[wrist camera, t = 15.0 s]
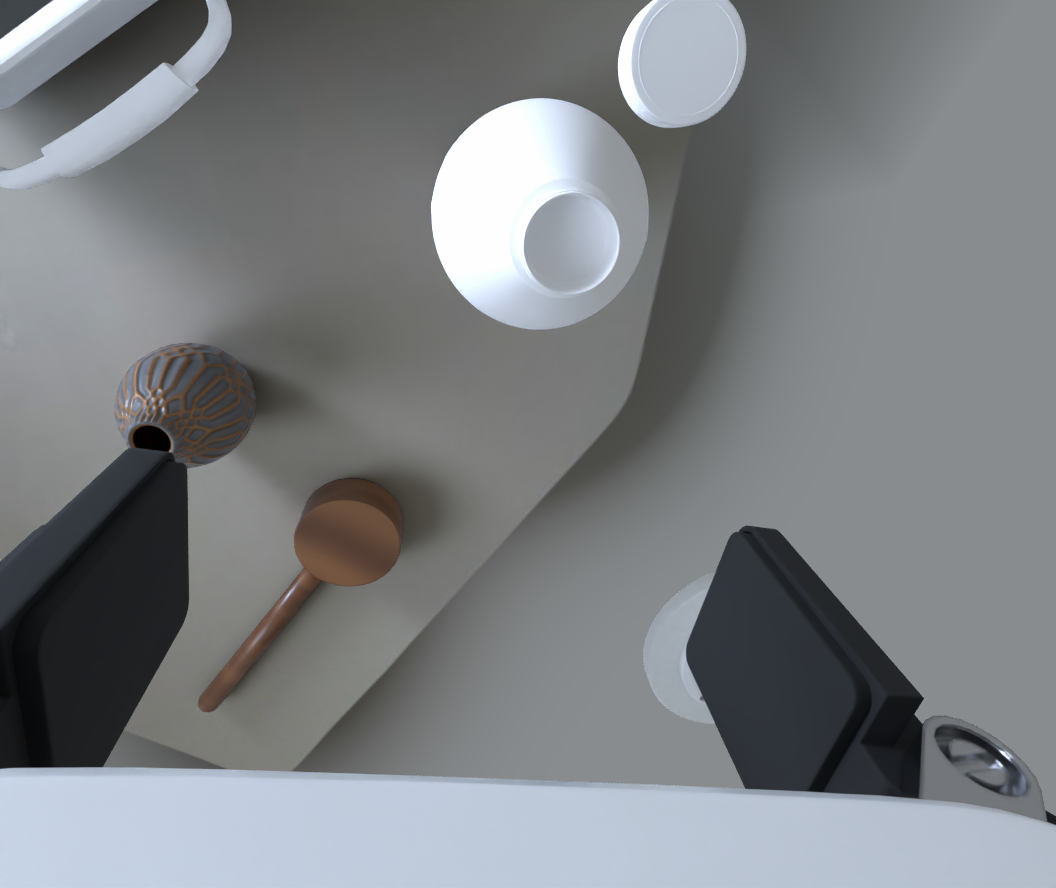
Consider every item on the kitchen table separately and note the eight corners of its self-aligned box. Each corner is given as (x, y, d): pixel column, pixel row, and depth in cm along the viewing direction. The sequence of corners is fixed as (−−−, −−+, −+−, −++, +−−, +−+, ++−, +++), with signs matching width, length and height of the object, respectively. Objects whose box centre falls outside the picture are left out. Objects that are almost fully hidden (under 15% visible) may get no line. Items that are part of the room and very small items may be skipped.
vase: (286, 366, 39) (245, 420, 31) (241, 451, 41) (192, 522, 33) (176, 308, 37) (102, 351, 29) (134, 401, 39) (55, 464, 31)
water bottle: (514, 265, 38) (607, 428, 16) (419, 206, 36) (372, 298, 14) (593, 131, 36) (841, 97, 13) (495, 59, 34) (592, -126, 11)
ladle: (338, 460, 42) (331, 481, 40) (422, 511, 45) (421, 534, 42) (165, 681, 49) (149, 712, 46) (247, 716, 51) (236, 747, 49)
